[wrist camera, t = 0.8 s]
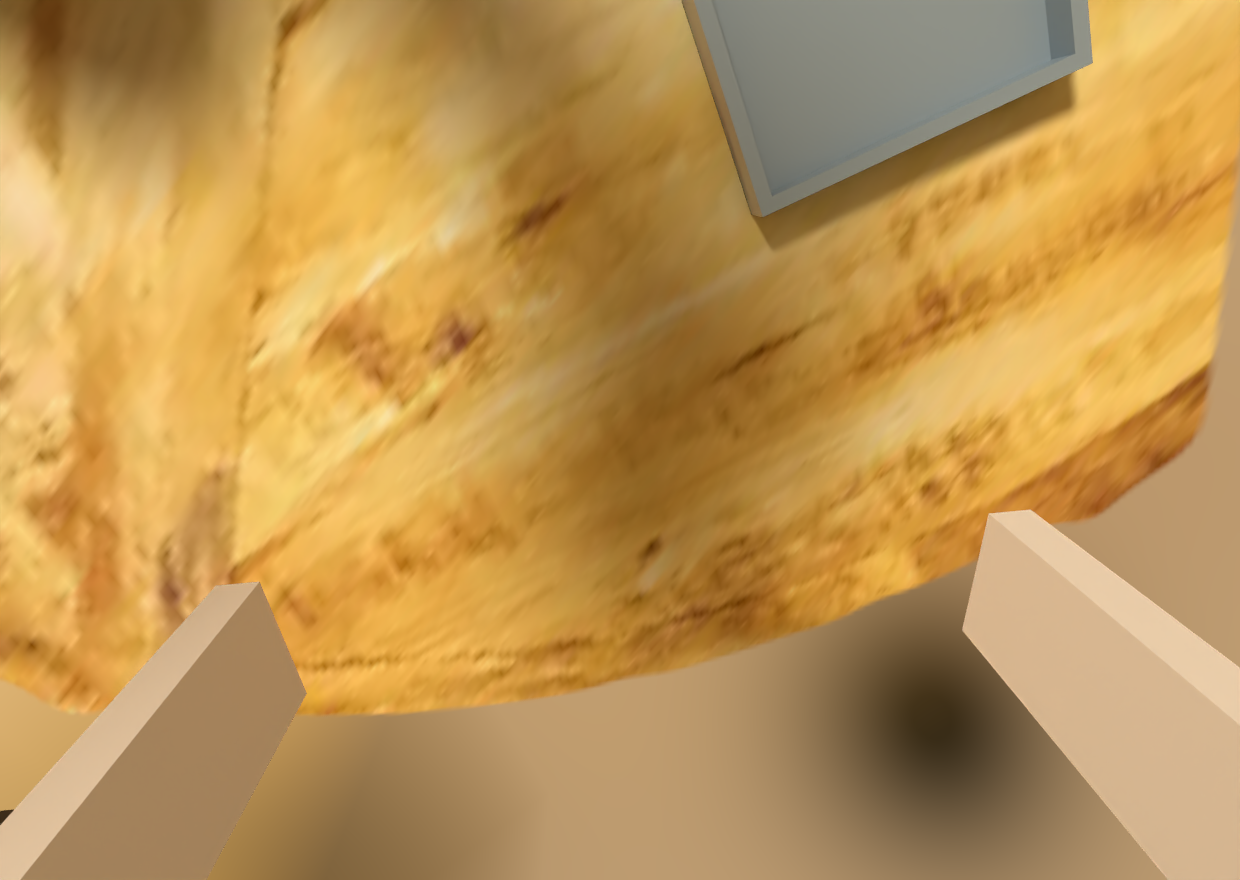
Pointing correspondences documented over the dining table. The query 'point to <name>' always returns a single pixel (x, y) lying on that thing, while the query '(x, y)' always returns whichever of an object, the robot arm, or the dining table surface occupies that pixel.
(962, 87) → the tray
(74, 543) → the dining table surface
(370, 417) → the dining table surface
